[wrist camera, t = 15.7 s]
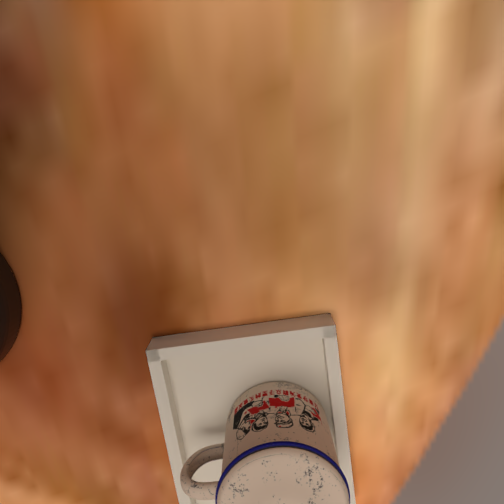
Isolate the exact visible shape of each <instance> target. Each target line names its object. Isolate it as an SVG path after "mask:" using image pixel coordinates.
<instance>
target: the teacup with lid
mask: <svg viewBox="0 0 504 504" xmlns="http://www.w3.org/2000/svg"><path fill="white" fill-rule="evenodd" d="M219 459H223V461H222V471H221V477H220V479H219V481H213V482H197V481H194V480H192V477H193V475H194V473H195V472H196V471H197V470H198V469H199V468H200V467H201V466H202V465H204V464H206V463H208V462H211V461H214V460H219ZM180 482H181V487H182V490H183V491H184V493H185V494H186V495H188V496H189V497H191V498H193V499H197V500H213V499H215V504H350V490H349V486H348V482H347V480H346V477H345V475H344V473H343V472H342V470H341V469H340V466H339V462H338V458H337V455H336V451H335V447H334V443H333V439H332V436H331V432H330V428H329V424H328V420H327V417H326V414H325V411H324V409H323V407H322V405H321V404H320V402H319V401H318V400H317V399H316V398H315V397H314V396H313V395H312V394H311V393H310V392H308V391H307V390H305V389H303V388H302V387H299V386H297V385H294V384H291V383H286V382H269V383H264V384H260V385H257V386H255V387H253V388H251V389H249V390H248V391H246V392H245V393H244V394H242V395H241V396H240V397H239V398H238V399H237V400H236V402H235V403H234V404H233V406H232V408H231V410H230V412H229V414H228V418H227V423H226V432H225V442H224V443H221V444H214V445H210V446H207V447H204V448H202V449H200V450H198V451H197V452H195V453H194V454H193V455H191V456H190V457H189V459H188V460H187V461H186V462H185V464H184V466H183V468H182V470H181V474H180Z"/></svg>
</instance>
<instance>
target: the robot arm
mask: <svg viewBox="0 0 504 504" xmlns="http://www.w3.org/2000/svg"><path fill="white" fill-rule="evenodd" d="M20 320H21V301H20V294H19V290H18V286H17V283H16V280H15V278H14V275H13V273H12V271H11V269H10V267H9V265H8V264H7V262H6V260H5V259H4V257H3V256H2V255H1V253H0V361H1V360H2V359H3V358H4V357H5V356H6V354H7V353H8V352H9V350H10V349H11V347H12V345H13V343H14V341H15V339H16V336H17V333H18V330H19V326H20Z"/></svg>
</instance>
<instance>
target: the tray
mask: <svg viewBox="0 0 504 504" xmlns="http://www.w3.org/2000/svg"><path fill="white" fill-rule="evenodd" d="M146 355H147V360H148V364H149V369H150V373H151V378H152V383H153V387H154V392H155V396H156V401H157V405H158V410H159V414H160V419H161V423H162V428H163V432H164V437H165V442H166V446H167V451H168V455H169V460H170V464H171V469H172V473H173V478H174V482H175V487H176V491H177V496H178V501H179V504H215V499H213V500H197V499H193V498H191V497H189V496H188V495H186V494H185V493H184V491H183V490H182V487H181V482H180V474H181V470H182V468H183V466H184V464H185V462H186V461H187V460H188V459H189V457H190V456H191V455H193V454H194V453H195V452H197V451H198V450H200V449H202V448H204V447H207V446H210V445H214V444H221V443H224V442H225V432H226V423H227V418H228V414H229V412H230V410H231V408H232V406H233V404H234V403H235V402H236V400H237V399H238V398H239V397H240V396H241V395H242V394H244V393H245V392H246V391H248V390H249V389H251V388H253V387H255V386H257V385H260V384H264V383H269V382H286V383H291V384H294V385H297V386H299V387H302V388H303V389H305V390H307V391H308V392H310V393H311V394H312V395H313V396H314V397H315V398H316V399H317V400H318V401H319V402H320V404H321V405H322V407H323V409H324V411H325V414H326V417H327V420H328V424H329V428H330V432H331V436H332V439H333V443H334V447H335V451H336V455H337V458H338V462H339V466H340V469H341V470H342V472H343V473H344V475H345V477H346V480H347V482H348V486H349V490H350V504H356V502H355V494H354V485H353V476H352V467H351V458H350V449H349V440H348V432H347V423H346V414H345V405H344V396H343V387H342V379H341V370H340V361H339V352H338V343H337V334H336V326H335V323H334V321H333V318H332V316H331V314H330V313H328V314H321V315H314V316H306V317H299V318H292V319H284V320H277V321H270V322H263V323H255V324H248V325H241V326H233V327H226V328H219V329H211V330H204V331H197V332H189V333H182V334H175V335H168V336H160V337H153V338H152V340H151V341H150V343H149V345H148V347H147V349H146ZM222 461H223V459H219V460H214V461H211V462H208V463H206V464H204V465H202V466H201V467H200V468H199V469H198V470H197V471H196V472H195V473H194V475H193V477H192V480H194V481H197V482H213V481H219V479H220V477H221V471H222Z"/></svg>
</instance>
